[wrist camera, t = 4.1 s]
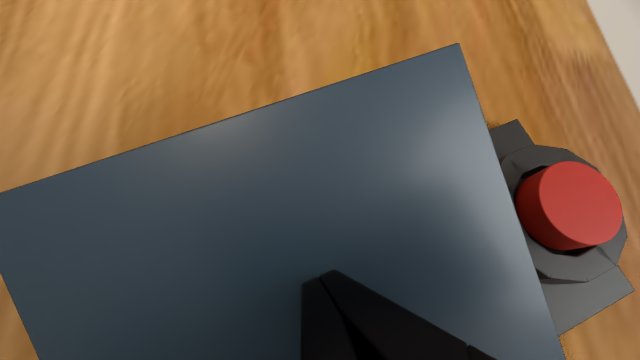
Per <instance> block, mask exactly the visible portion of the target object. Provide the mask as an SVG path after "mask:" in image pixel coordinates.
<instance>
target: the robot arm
mask: <svg viewBox="0 0 640 360" xmlns="http://www.w3.org/2000/svg"><path fill="white" fill-rule="evenodd" d="M300 360H498V359H496V358H494V357H492V356H490V355H488V354H486V353H485V352H483V351H481V350H479V349H478V348H476V347H474V346H472V345H468V347H467V343H466V342H465V341H463V340H461V339H459V338H458V337H456V336H454V335H452V334H451V333H449V332H447V331H445V330H443V329H442V328H440V327H438V326H436V325H434V324H433V323H431V322H429V321H427V320H425V319H424V318H422V317H420V316H418V315H416V314H415V313H413V312H411V311H409V310H408V309H406V308H404V307H402V306H400V305H399V304H397V303H395V302H393V301H391V300H390V299H388V298H386V297H384V296H382V295H381V294H379V293H377V292H375V291H373V290H372V289H370V288H368V287H366V286H365V285H363V284H361V283H359V282H357V281H356V280H354V279H352V278H350V277H348V276H347V275H345V274H343V273H341V272H339V271H338V270H336V269H332V270H330V271H328V272H325V273H323V274H321V275H320V276H319V278H318V277H314V278H312V279H310V280H308V281H306V282H304V283H303V284H302V287H301V340H300Z"/></svg>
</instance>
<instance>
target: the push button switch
mask: <svg viewBox="0 0 640 360" xmlns="http://www.w3.org/2000/svg"><path fill="white" fill-rule="evenodd" d="M489 133H490V136H491V139H492V142H493V145H494V148H495V151H496V154H497V157H498V160H499V163H500V166H501V169H502V171H503V174H504V177H505V180H506V183H507V186H508V189H509V192H510V195H511V198H512V201H513V204H514V207H515V210H516V205H515V199H516V193H517V190H518V188H519V186H520V185H521V183H522V182H523V181H524V180H525V179H526V178H528V177H530V176H532V175H533V174H535V173H537V172H539V171H541V170H543V169H545V168H547V167H549V166H551V165H553V164H555V163H558V162H563V161H574V162H579V163H582V164H585V165H587V166H590V167H591V168H593V169H595V170H596V171H598V172H599V170H598V169H597V168H596V167H594V166H593V165H591V164H590V163H588V162H586V161H585V160H583V159H582V158H580V157H578V156H577V155H575V154H574V153H572V152H570V151H569V150H567V149H563V148H556V147H548V146H541V145H535V144H534V143H533V141H532V140H531V138H530V137H529V135H528V134H527V133H526V131H525V130H524V128H523V127H522V125H521V124H520V122H519V121H518V120H517V119H516V120H513V121H511V122H508V123H506V124H503V125H501V126H498V127H496V128H493V129H491V130H489ZM599 173H600V172H599ZM600 174H601V173H600ZM516 213H517V211H516ZM517 216H518V215H517ZM518 219H519V217H518ZM519 222H520V220H519ZM520 225H521V228H522V231H523V234H524V236H525V239H526V242H527V245H528V248H529V251H530V254H531V257H532V260H533V263H534V266H535V269H536V272H537V275H538V278H539V281H540V284H541V287H542V290H543V293H544V296H545V299H546V302H547V304H548V307H549V310H550V313H551V316H552V319H553V322H554V325H555V328H556V331H557V334H558V336H560V335H562V334H563V333H565V332H567V331H568V330H570V329H572V328H573V327H575V326H577V325H578V324H580V323H582V322H583V321H585V320H587V319H588V318H590V317H592V316H593V315H595V314H597V313H598V312H600V311H602V310H603V309H605V308H606V307H608V306H610V305H611V304H613V303H615V302H616V301H618V300H620V299H621V298H623V297H625V296H626V295H628V294H630V293H631V292H633V291H634V288H633V287H632V286H631V284H630V283H629V281H628V280H627V278H626V277H625V275H624V274H623V272H622V271H621V269H620V268H619V267H618V265H617V263H618V261H619V258H620V255H621V252H622V250H623V247H624V244H625V241H626V239H627V231H626V227H625V222H624V217H623V213H622V223H621V227H620V229H619V231H618V232H617V234H616V235H615V236H614V237H613V238H612V239H611V240H609V241H608V242H605V243H603V244H599V245H594V246H588V247H583V248H577V249H572V250H556V249H552V248H549V247H547V246H545V245H543V244H541V243H539V242H538V241H537V240H535V239H534V238H533V237H532V236H531V235H530V234H529V233H528V232H527V231H526V230H525V228H524V227H523V225H522V224H521V222H520Z"/></svg>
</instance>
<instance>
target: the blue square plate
mask: <svg viewBox="0 0 640 360" xmlns="http://www.w3.org/2000/svg"><path fill="white" fill-rule="evenodd" d="M332 269H336V270H338V271H339V272H341V273H343V274H345V275H347V276H348V277H350V278H352V279H354V280H356V281H357V282H359V283H361V284H363V285H365V286H366V287H368V288H370V289H372V290H373V291H375V292H377V293H379V294H381V295H382V296H384V297H386V298H388V299H390V300H391V301H393V302H395V303H397V304H399V305H400V306H402V307H404V308H406V309H408V310H409V311H411V312H413V313H415V314H416V315H418V316H420V317H422V318H424V319H425V320H427V321H429V322H431V323H433V324H434V325H436V326H438V327H440V328H442V329H443V330H445V331H447V332H449V333H451V334H452V335H454V336H456V337H458V338H459V339H461V340H463V341H465V342H466V343H467V347H468V345H472V346H474V347H476V348H478V349H479V350H481V351H483V352H485V353H486V354H488V355H490V356H492V357H494V358H496V359H498V360H566V358H565V355H564V352H563V349H562V346H561V343H560V340H559V337H558V334H557V331H556V328H555V325H554V322H553V319H552V316H551V313H550V310H549V307H548V304H547V302H546V299H545V296H544V293H543V290H542V287H541V284H540V281H539V278H538V275H537V272H536V269H535V266H534V263H533V260H532V257H531V254H530V251H529V248H528V245H527V242H526V239H525V236H524V234H523V231H522V228H521V225H520V222H519V219H518V216H517V213H516V210H515V207H514V204H513V201H512V198H511V195H510V192H509V189H508V186H507V183H506V180H505V177H504V174H503V171H502V169H501V166H500V163H499V160H498V157H497V154H496V151H495V148H494V145H493V142H492V139H491V136H490V133H489V130H488V127H487V124H486V121H485V118H484V115H483V112H482V109H481V106H480V103H479V101H478V98H477V95H476V92H475V89H474V86H473V83H472V80H471V77H470V74H469V71H468V68H467V65H466V62H465V59H464V56H463V53H462V50H461V47H460V44H459V43H455V44H452V45H449V46H446V47H443V48H440V49H437V50H434V51H431V52H428V53H425V54H422V55H419V56H416V57H413V58H410V59H407V60H404V61H401V62H398V63H395V64H391V65H388V66H385V67H382V68H379V69H376V70H373V71H370V72H367V73H364V74H361V75H358V76H355V77H352V78H349V79H346V80H343V81H340V82H337V83H334V84H330V85H327V86H324V87H321V88H318V89H315V90H312V91H309V92H306V93H303V94H300V95H297V96H294V97H291V98H288V99H285V100H282V101H279V102H276V103H273V104H270V105H266V106H263V107H260V108H257V109H254V110H251V111H248V112H245V113H242V114H239V115H236V116H233V117H230V118H227V119H224V120H221V121H218V122H215V123H212V124H209V125H205V126H202V127H199V128H196V129H193V130H190V131H187V132H184V133H181V134H178V135H175V136H172V137H169V138H166V139H163V140H160V141H157V142H154V143H151V144H148V145H144V146H141V147H138V148H135V149H132V150H129V151H126V152H123V153H120V154H117V155H114V156H111V157H108V158H105V159H102V160H99V161H96V162H93V163H90V164H87V165H84V166H80V167H77V168H74V169H71V170H68V171H65V172H62V173H59V174H56V175H53V176H50V177H47V178H44V179H41V180H38V181H35V182H32V183H29V184H26V185H23V186H19V187H16V188H13V189H10V190H7V191H4V192H1V193H0V273H1V275H2V278H3V280H4V282H5V284H6V287H7V289H8V291H9V293H10V295H11V298H12V300H13V302H14V304H15V307H16V309H17V311H18V313H19V315H20V318H21V320H22V322H23V324H24V327H25V329H26V331H27V333H28V335H29V338H30V340H31V342H32V344H33V347H34V349H35V351H36V353H37V356H38V358H39V360H300V340H301V287H302V284H303V283H304V282H306V281H308V280H310V279H312V278H314V277H318V278H319V276H320V275H321V274H323V273H325V272H328V271H330V270H332Z"/></svg>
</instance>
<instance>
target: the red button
mask: <svg viewBox="0 0 640 360" xmlns="http://www.w3.org/2000/svg"><path fill="white" fill-rule="evenodd" d="M515 205H516V211H517V215H518V217H519V220H520V222H521V224H522V225H523V227H524V228H525V230H526V231H527V232H528V233H529V234H530V235H531V236H532V237H533V238H534V239H535V240H537V241H538V242H539V243H541V244H543V245H545V246H547V247H549V248H552V249H556V250H572V249H577V248H583V247H588V246H594V245H599V244H603V243H605V242H608V241H609V240H611V239H612V238H613V237H614V236H615V235H616V234H617V232H618V231H619V229H620V227H621V223H622V206H621V203H620V200H619V197H618V195H617V193H616V191H615V189H614V188H613V186H612V185H611V184H610V182H609V181H608V180H607V179H606V178H605V177H604V176H603V175H602V174H600V173H599V172H598V171H596V170H595V169H593V168H591V167H590V166H587V165H585V164H582V163H579V162H574V161H563V162H558V163H555V164H553V165H551V166H549V167H547V168H545V169H543V170H541V171H539V172H537V173H535V174H533V175H532V176H530V177H528V178H526V179H525V180H524V181H523V182H522V183H521V185H520V186H519V188H518V190H517V193H516V199H515Z"/></svg>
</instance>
